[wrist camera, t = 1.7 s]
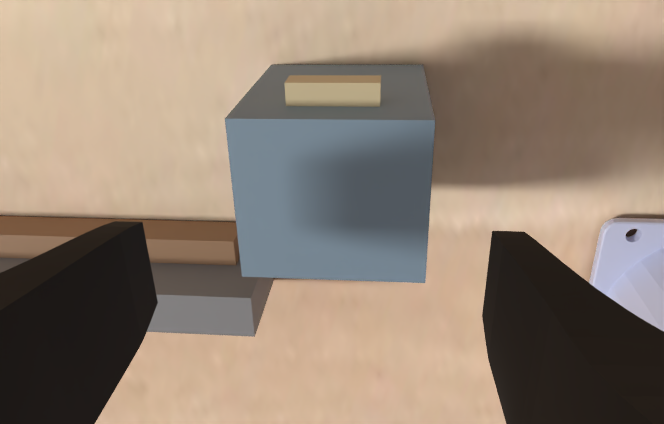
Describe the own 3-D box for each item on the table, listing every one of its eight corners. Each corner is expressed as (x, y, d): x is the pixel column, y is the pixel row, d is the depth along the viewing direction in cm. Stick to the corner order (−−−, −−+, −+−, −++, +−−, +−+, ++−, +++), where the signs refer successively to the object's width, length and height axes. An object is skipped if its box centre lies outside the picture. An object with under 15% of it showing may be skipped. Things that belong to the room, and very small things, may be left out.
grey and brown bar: (268, 223, 22) (248, 272, 19) (273, 280, 23) (254, 336, 20) (-208, 210, 24) (-300, 253, 21) (-182, 264, 25) (-265, 312, 22)
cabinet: (423, 45, 18) (436, 94, 13) (416, 190, 21) (425, 282, 15) (270, 46, 19) (222, 94, 14) (279, 187, 21) (241, 276, 16)
